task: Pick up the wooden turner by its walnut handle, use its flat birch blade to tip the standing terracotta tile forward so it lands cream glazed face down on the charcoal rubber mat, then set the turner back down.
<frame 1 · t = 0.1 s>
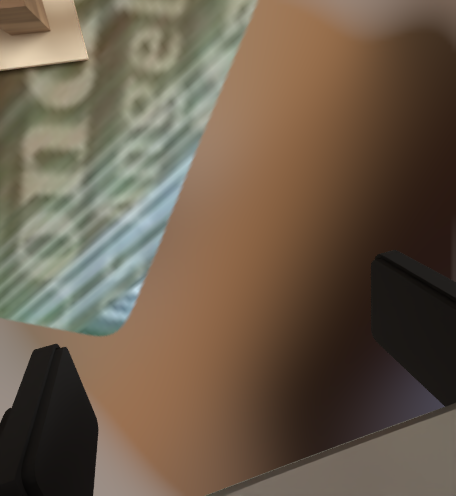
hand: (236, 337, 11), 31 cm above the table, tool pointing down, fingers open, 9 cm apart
turner: (28, 14, 32), on the table
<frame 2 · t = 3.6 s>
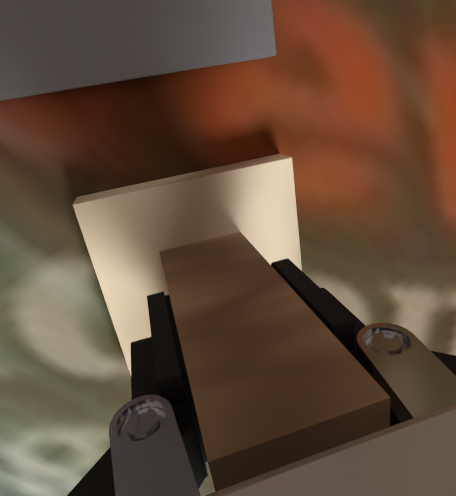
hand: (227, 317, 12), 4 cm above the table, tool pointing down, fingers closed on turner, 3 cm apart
turner: (202, 266, 16), on the table, touching gripper
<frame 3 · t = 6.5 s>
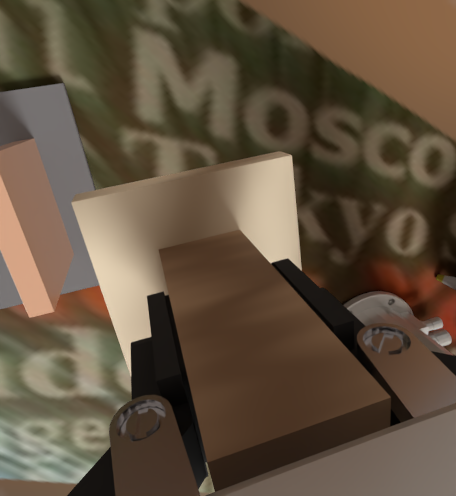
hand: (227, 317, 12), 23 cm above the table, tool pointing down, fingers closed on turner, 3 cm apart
tile: (32, 218, 26), point 6 cm above the table, touching mat
turner: (201, 264, 16), point 19 cm above the table, touching gripper
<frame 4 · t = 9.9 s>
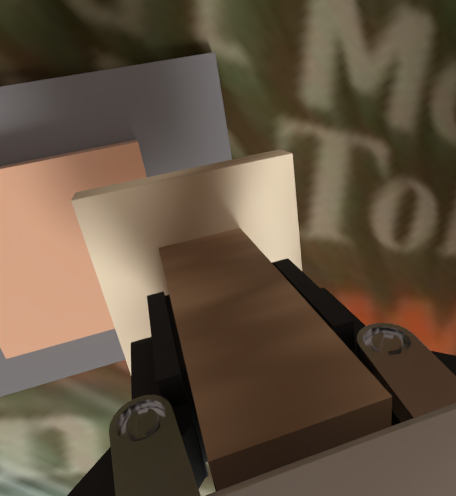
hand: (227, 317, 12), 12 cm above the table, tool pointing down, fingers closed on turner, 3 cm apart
tile: (70, 251, 20), point 1 cm above the table, tilted 90°, touching mat
turner: (201, 262, 16), point 8 cm above the table, touching gripper
mat: (91, 238, 22), on the table
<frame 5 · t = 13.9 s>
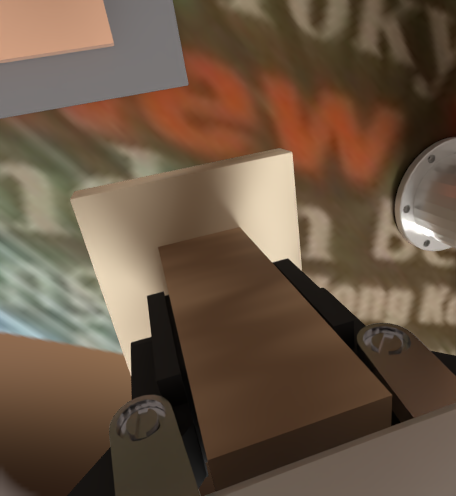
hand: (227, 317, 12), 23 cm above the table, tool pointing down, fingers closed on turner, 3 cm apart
turner: (201, 261, 16), point 19 cm above the table, touching gripper
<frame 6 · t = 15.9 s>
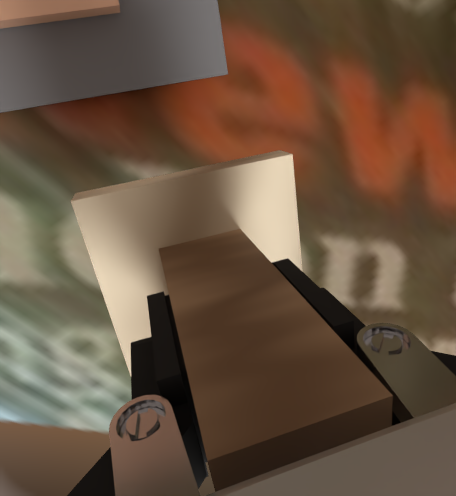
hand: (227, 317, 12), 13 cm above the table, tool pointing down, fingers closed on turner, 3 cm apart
turner: (202, 263, 16), point 8 cm above the table, touching gripper
when the fingers open (6 cm above the table, at t = 17.5 s): turner drops 2 cm, on the table.
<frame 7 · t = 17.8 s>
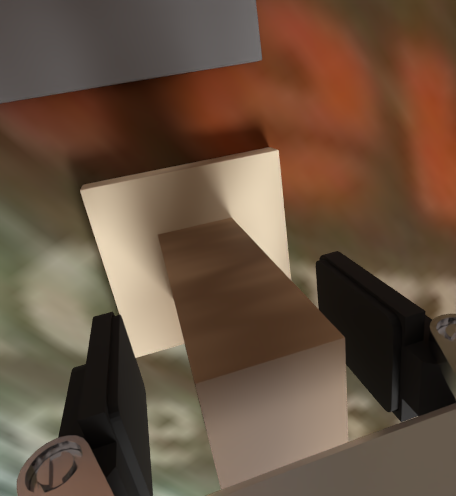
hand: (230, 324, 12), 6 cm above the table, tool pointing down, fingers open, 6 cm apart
turner: (197, 250, 17), on the table
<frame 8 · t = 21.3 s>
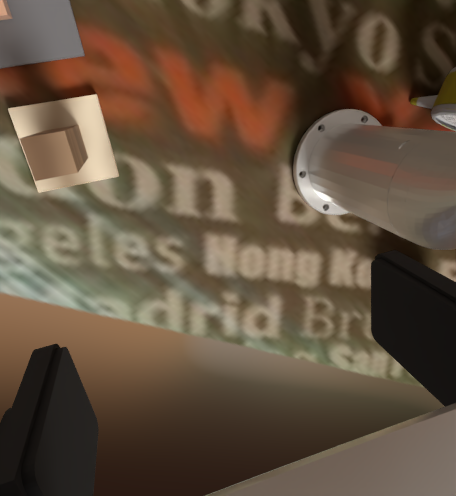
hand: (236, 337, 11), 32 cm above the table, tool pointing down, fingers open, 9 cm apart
turner: (68, 143, 37), on the table
alarm clock: (444, 99, 46), on the table
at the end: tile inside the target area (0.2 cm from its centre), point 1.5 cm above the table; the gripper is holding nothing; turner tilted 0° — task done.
